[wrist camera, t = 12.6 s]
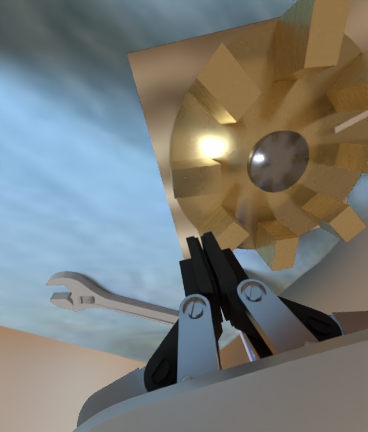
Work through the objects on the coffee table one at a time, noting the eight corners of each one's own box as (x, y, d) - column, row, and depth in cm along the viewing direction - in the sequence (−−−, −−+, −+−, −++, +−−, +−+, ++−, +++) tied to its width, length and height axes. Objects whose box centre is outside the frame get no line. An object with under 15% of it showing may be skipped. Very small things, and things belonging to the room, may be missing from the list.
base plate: (129, 59, 17) (126, 53, 16) (370, 1, 18) (389, -10, 16) (183, 255, 28) (184, 262, 26) (334, 217, 28) (343, 221, 27)
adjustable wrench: (197, 313, 35) (199, 322, 33) (178, 333, 37) (179, 342, 35) (59, 264, 26) (53, 273, 25) (44, 293, 28) (38, 303, 27)
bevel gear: (215, 263, 27) (229, 299, 21) (127, 111, 18) (111, 102, 12) (360, 192, 25) (420, 211, 19) (347, -24, 16) (457, -115, 10)
